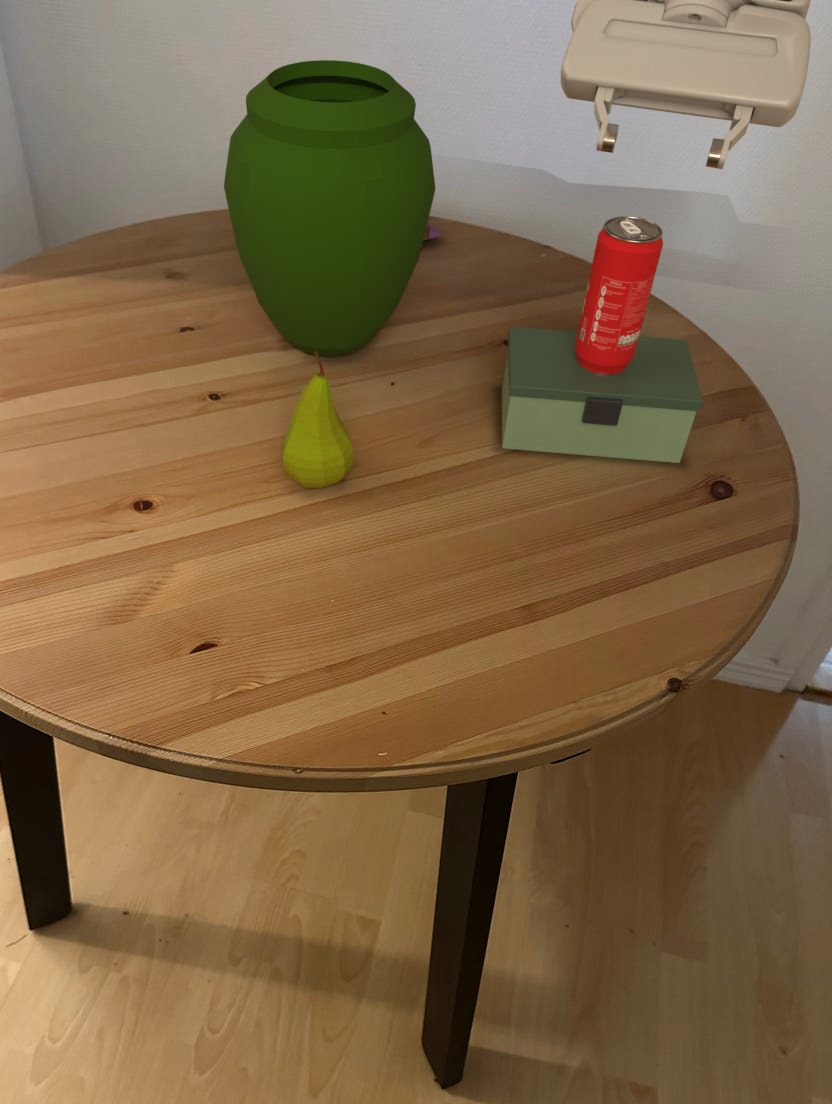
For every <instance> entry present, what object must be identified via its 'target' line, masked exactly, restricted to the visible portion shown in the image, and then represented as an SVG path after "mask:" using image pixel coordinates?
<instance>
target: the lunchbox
mask: <svg viewBox="0 0 832 1104" xmlns="http://www.w3.org/2000/svg"><path fill="white" fill-rule="evenodd" d="M507 332H508V333H507V352H506V353H507V354H506V360H505V366H504V374H503V378H502V379H503V380H502V385H501V448H502V449H503V450H504V449H505V450H516V451H527V452H528V451H529V452H540V453H550V454H551V453H552V454H565V455H574V456H575V455H577V456H587V457H599V458H614V459H623V460H637V461H649V462H661V463H670V464H671V463H673V464H680V463H681V460H682V458H683V454H684V452H685V449H686V445H687V443H688V439H689V437H690V432H691V430H692V427H693V423H694V420H695V418H696V415H697V412H701V409H702V406H703V403H704V400H703V397H702V393H701V388H700V385H699V382H698V378H697V374H696V370H695V366H694V362H693V358H692V355H691V350H690V346H689V343H688V339H679V338H667V337H666V338H665V337H655V336H654V337H653V336H641V335H639V338H638V342H637V346H636V350H635V354H634V357H633V359H632V360H631V361H630V362H629V363H628V365H627V366H626V368H625V370H624V371H622V372H621V373H618V374H614V375H600V374H595V373H592V372H589V371H587V370H585V369H584V368H582V367H581V366H580V365H579V364H578V362H577V354H576V351H575V343H576V338H577V333H578V331H574V330H561V329H548V328H537V327H536V328H535V327H524V326H509V328H508V331H507Z"/></svg>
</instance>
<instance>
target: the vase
mask: <svg viewBox="0 0 832 1104" xmlns="http://www.w3.org/2000/svg"><path fill="white" fill-rule="evenodd" d="M416 106H417V103H416V99H415V97H414V96H413V95H412V93H410V92H409V91H408V90H407V89H406V88H405V87H404V86H402V84H400V83H399V81H397V80H396V79H395V78H394V77H393V76H392V75H391V74H389V73H388V72H386V71H385V70H383V69H381V68H378V67H375V66H372V65H369V64H364V63H360V62H353V61H347V60H335V59H334V60H333V59H332V60H331V59H329V60H328V59H327V60H326V59H321V60H320V59H319V60H317V59H316V60H307V61H305V60H304V61H298V62H294V63H289V64H286V65H283V66H280V67H277V68H276V69H274V70H273V71H271V72H270V73H269V74H268V75H267V76H266V77H264V78H263V79H262V80H261V81H260V82H259V83H257V84H255V86H254V87H252V88H251V89H250V90H249V91H248V93H247V95H246V97H245V107H246V115H244V117H243V118H242V120H241V121H240V122H239V124H238V125H237V127H236V128H235V129H234V131H233V132H232V134H231V135H230V138H229V146H228V153H227V160H226V165H225V166H226V167H225V174H224V180H223V181H224V182H223V189H224V194H225V199H226V203H227V208H228V213H229V217H230V222H231V227H232V231H233V236H234V240H235V246H236V250H237V253H238V255H239V258H240V261H241V263H242V266H243V268H244V270H245V274H246V275H247V277H248V278H247V279H248V280H249V282H250V285H251V287H252V290H253V293H254V294H255V297H256V299H257V302H258V304H259V306H260V307H261V308H262V310H263V312H264V314H265V315H266V316H267V318H268V319H269V321H270V322H271V324H272V325H273V327H274V328H275V329H276V330H277V332H278V333H279V334H280V335H281V336H282V337H283V338H284V339H285V340H286V341H287V342H288V343H289V344H290V345H291V346H293V348H295V349H297V350H298V351H301V352H303V353H306V354H308V355H313V356H315V354H314V352H315V351H317V353H318V356H319V357H341V356H345V355H349V354H353V353H355V352H358V351H359V350H361V349H363V348H364V347H365V346H366V345H367V344H368V343H370V341H372V340H373V339H374V338H375V337H376V336H377V335H378V334H379V333H380V331H381V330H382V329H383V327H384V326H385V324H386V323H387V322H388V320H389V319H390V318H391V316H392V315H393V314H394V312H395V310H396V309H397V308H398V306H399V305H400V302H401V300H402V297H403V296H404V294H405V292H406V289H407V287H408V284H409V282H410V279H411V277H412V276H413V273H414V271H415V269H416V267H417V264H418V262H419V260H420V256H421V252H422V248H423V243H424V241H423V239H424V235H425V231H426V227H427V223H429V218H430V214H431V209H432V205H433V201H434V198H435V193H436V182H435V174H434V164H433V156H432V147H431V143H430V139H429V138H428V136H427V135H426V134H425V132H424V131H423V129H422V128H421V126H420V125H419V124H418V122H417V121H416V118H415V113H416Z"/></svg>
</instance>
